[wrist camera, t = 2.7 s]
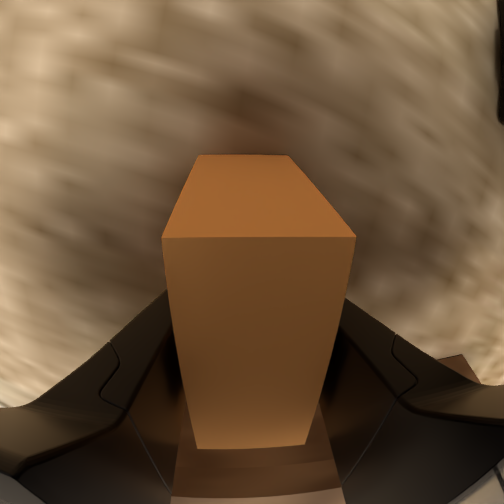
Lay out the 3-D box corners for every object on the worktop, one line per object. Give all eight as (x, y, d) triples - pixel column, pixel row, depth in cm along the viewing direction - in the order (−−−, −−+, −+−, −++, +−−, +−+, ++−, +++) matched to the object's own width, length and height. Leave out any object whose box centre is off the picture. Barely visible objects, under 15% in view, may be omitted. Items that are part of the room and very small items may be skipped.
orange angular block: (288, 155, 11) (356, 237, 5) (277, 308, 14) (304, 444, 8) (198, 155, 10) (161, 237, 5) (205, 310, 13) (197, 448, 8)
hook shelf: (461, 354, 17) (510, 433, 11) (386, 466, 24) (404, 522, 18) (128, 379, 15) (103, 493, 9) (174, 485, 23) (171, 549, 17)
